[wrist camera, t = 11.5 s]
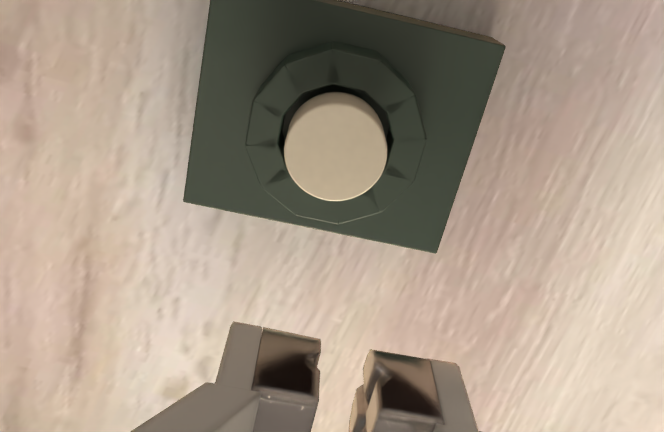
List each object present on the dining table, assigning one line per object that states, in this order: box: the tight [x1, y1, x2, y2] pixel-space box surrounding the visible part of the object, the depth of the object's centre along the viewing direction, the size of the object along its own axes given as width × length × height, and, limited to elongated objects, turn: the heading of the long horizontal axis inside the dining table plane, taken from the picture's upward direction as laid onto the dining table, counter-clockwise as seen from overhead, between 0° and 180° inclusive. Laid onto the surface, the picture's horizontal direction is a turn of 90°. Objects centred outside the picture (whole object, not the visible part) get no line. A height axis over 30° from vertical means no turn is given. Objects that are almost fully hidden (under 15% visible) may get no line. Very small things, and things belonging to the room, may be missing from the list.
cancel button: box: [284, 92, 387, 201], centre depth 22 cm, size 4×4×2 cm
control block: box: [183, 0, 505, 253], centre depth 24 cm, size 11×9×4 cm
